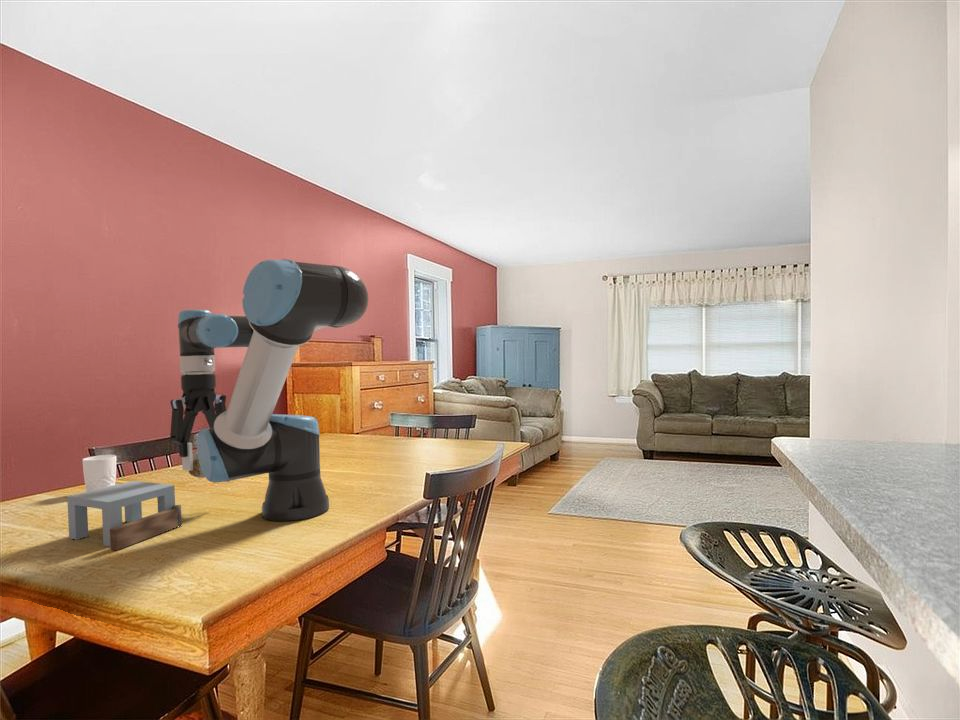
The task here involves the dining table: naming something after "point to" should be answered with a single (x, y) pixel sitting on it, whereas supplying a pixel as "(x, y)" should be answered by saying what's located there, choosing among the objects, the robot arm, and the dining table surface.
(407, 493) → the dining table surface
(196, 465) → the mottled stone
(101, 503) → the stool
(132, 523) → the brown wooden plank
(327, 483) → the dining table surface
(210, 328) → the robot arm
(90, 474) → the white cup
